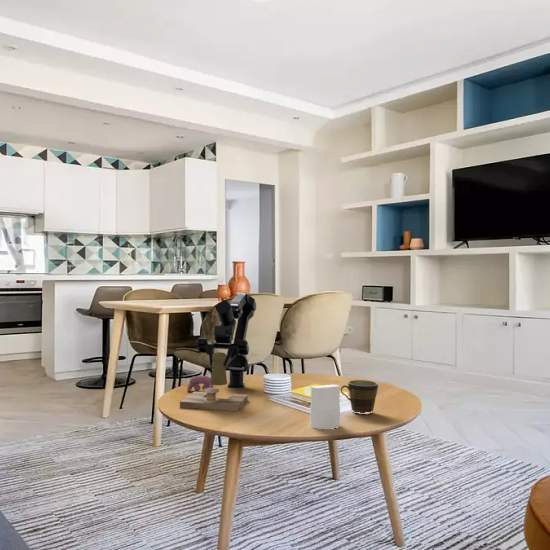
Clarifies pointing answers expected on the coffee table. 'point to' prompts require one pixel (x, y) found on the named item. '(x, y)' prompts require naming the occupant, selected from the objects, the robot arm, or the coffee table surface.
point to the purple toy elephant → (199, 380)
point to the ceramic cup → (362, 395)
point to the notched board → (213, 401)
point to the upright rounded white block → (325, 406)
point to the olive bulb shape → (218, 369)
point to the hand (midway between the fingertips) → (218, 365)
